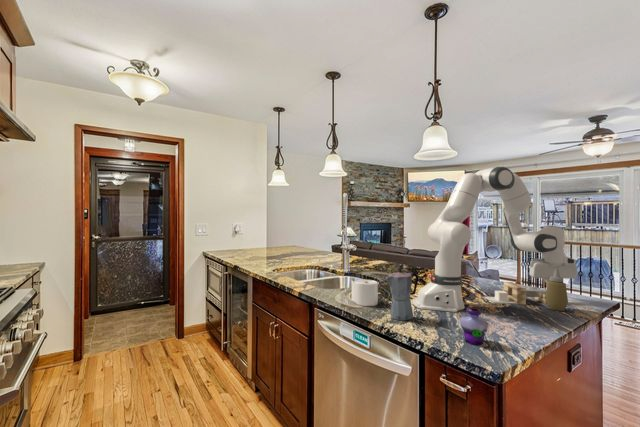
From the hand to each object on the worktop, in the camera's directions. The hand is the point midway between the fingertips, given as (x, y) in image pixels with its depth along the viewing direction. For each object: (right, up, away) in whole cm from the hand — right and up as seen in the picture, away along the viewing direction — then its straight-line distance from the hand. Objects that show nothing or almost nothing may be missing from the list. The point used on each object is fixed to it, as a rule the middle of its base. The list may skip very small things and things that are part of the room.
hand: (552, 287), depth 145 cm
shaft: (-9, -5, +1) cm, 10 cm away
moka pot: (-80, -7, -24) cm, 84 cm away
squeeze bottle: (-7, -7, -11) cm, 15 cm away
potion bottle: (-63, -7, -47) cm, 79 cm away
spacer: (-22, -5, +1) cm, 23 cm away
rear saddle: (-4, -7, 0) cm, 8 cm away
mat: (-25, -7, +2) cm, 26 cm away
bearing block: (-18, -7, +1) cm, 19 cm away
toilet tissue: (-93, -7, -4) cm, 93 cm away
